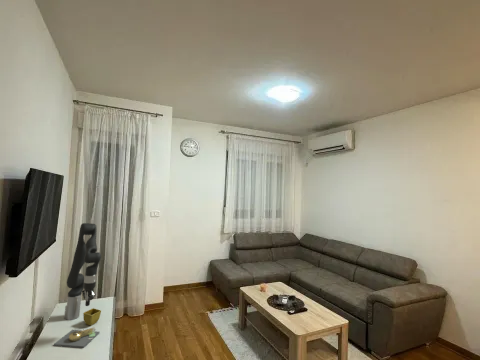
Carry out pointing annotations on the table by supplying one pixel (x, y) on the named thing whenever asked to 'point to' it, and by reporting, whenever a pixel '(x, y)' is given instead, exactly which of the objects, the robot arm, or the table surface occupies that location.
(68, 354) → the table surface
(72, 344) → the board
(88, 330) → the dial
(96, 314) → the flower pot
